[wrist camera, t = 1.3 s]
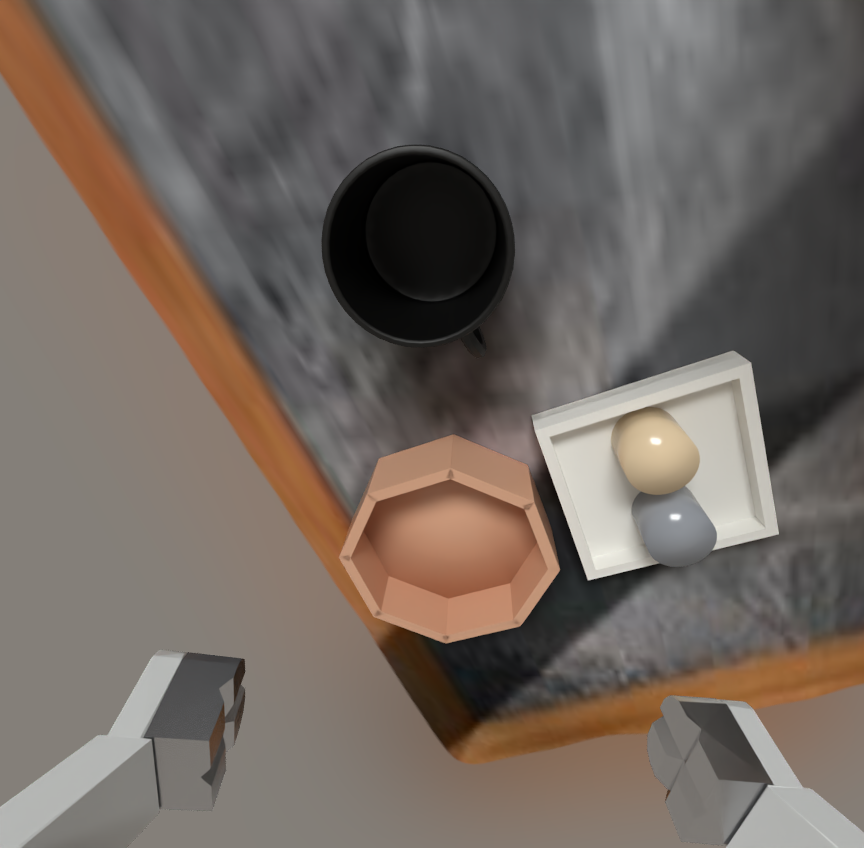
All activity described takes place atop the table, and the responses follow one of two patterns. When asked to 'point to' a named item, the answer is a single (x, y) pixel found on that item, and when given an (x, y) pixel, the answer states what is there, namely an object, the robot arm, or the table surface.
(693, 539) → the slate pebble
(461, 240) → the mug
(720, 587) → the table surface
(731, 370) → the tray
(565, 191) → the table surface
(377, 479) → the bowl
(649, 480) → the sand pebble
